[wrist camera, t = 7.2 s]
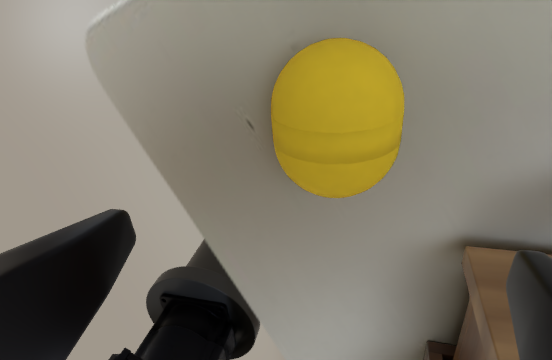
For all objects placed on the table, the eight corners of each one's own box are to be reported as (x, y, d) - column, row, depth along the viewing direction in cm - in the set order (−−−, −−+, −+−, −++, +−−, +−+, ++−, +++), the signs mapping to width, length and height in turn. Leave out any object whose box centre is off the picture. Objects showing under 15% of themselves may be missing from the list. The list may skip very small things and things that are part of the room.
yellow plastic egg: (393, 165, 18) (396, 229, 13) (291, 160, 19) (263, 216, 15) (408, 25, 15) (417, 50, 10) (284, 31, 16) (245, 55, 12)
